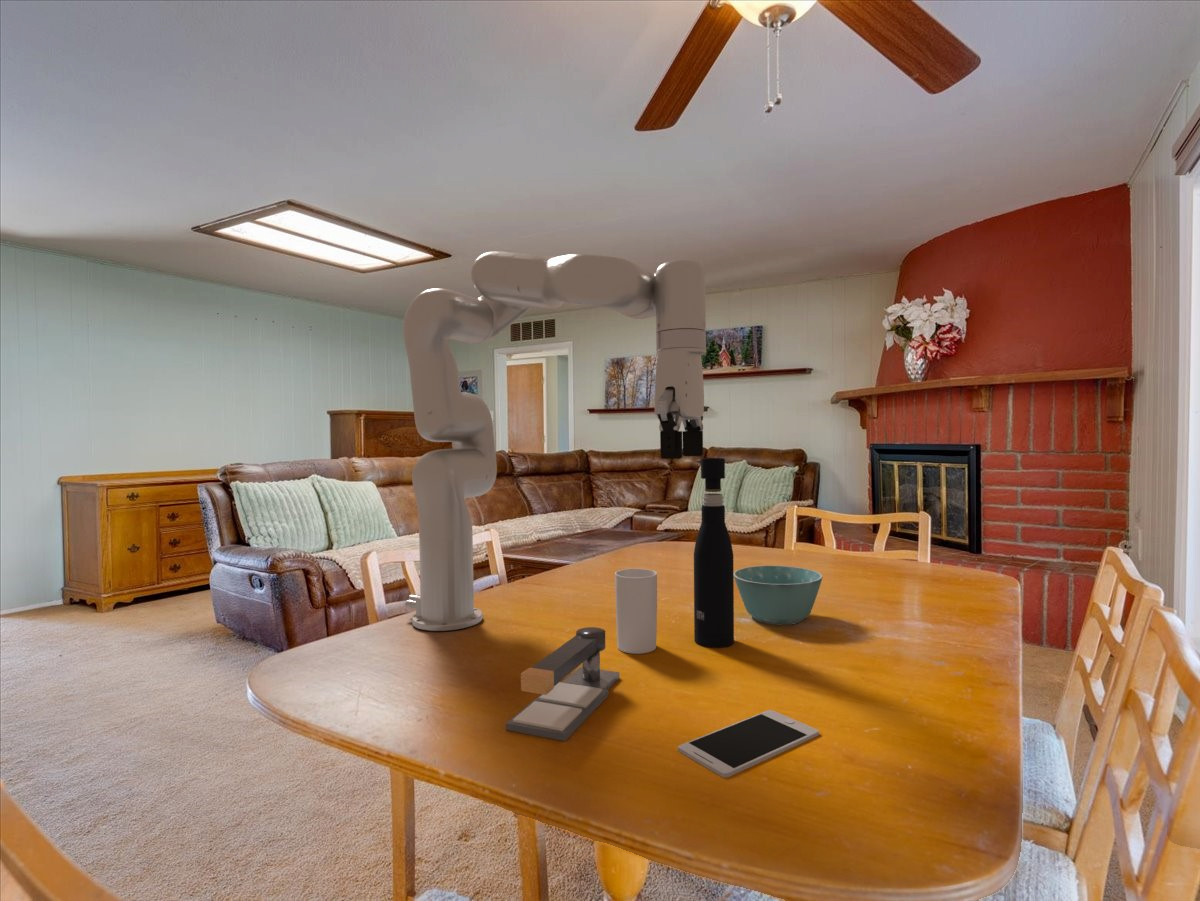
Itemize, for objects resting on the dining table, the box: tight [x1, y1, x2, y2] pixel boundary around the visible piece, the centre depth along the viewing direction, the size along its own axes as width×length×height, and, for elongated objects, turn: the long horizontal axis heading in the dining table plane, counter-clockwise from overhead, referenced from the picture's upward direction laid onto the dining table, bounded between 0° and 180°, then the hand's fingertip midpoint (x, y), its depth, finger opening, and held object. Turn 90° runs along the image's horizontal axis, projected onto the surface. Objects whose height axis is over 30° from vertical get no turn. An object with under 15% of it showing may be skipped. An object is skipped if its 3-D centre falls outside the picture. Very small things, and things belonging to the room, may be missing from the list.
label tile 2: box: [532, 681, 609, 718], centre depth 82 cm, size 8×7×1 cm
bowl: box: [733, 565, 823, 626], centre depth 117 cm, size 16×16×8 cm
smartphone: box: [677, 709, 820, 779], centre depth 71 cm, size 7×15×1 cm, turn 125°
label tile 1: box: [505, 700, 590, 742], centre depth 76 cm, size 8×7×1 cm
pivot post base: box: [561, 651, 620, 691], centre depth 88 cm, size 6×6×4 cm
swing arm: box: [520, 626, 606, 695], centre depth 81 cm, size 18×4×2 cm, turn 158°
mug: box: [614, 567, 658, 655], centre depth 103 cm, size 10×7×12 cm, turn 21°
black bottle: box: [693, 457, 735, 649], centre depth 104 cm, size 6×6×30 cm
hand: (682, 457), depth 97 cm, fingers open, 9 cm apart
